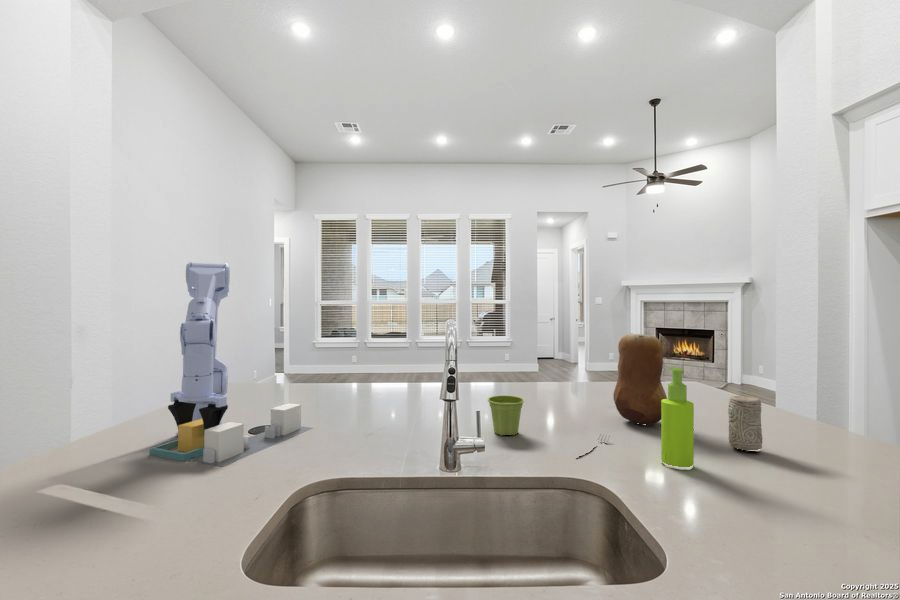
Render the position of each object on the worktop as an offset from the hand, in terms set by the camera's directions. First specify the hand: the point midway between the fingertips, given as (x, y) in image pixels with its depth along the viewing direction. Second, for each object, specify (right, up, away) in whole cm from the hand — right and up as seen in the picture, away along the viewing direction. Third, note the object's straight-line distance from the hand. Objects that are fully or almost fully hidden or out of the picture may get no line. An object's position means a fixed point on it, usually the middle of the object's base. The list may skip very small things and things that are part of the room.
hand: (197, 436), depth 93 cm
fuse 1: (+9, -2, -5) cm, 10 cm away
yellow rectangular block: (0, -3, 0) cm, 3 cm away
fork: (+88, -5, +4) cm, 88 cm away
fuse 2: (+15, -2, +12) cm, 19 cm away
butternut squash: (+108, -5, +25) cm, 111 cm away
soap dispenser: (+103, -4, -5) cm, 103 cm away
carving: (+123, -5, +4) cm, 123 cm away
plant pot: (+70, -4, +16) cm, 72 cm away
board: (+12, -4, +3) cm, 13 cm away
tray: (0, -4, 0) cm, 4 cm away
